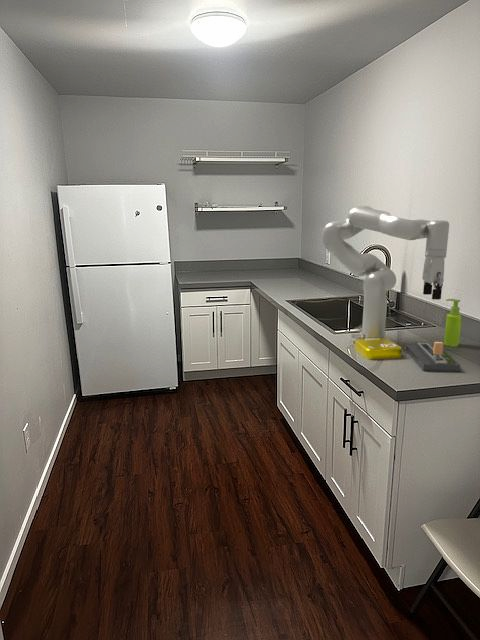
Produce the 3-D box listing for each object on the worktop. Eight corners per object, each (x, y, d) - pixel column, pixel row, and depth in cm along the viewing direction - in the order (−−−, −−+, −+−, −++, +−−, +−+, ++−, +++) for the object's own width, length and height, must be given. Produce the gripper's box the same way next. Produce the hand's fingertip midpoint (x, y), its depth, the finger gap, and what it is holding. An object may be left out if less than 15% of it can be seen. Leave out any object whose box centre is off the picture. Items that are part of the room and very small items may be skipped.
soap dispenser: (443, 341, 201) (448, 297, 196) (459, 344, 197) (465, 299, 192) (439, 344, 197) (444, 299, 192) (456, 347, 193) (461, 301, 188)
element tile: (386, 347, 195) (386, 336, 194) (402, 358, 181) (404, 347, 180) (352, 348, 193) (353, 338, 192) (367, 360, 179) (368, 349, 178)
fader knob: (434, 360, 169) (436, 343, 168) (431, 357, 173) (433, 340, 171) (442, 360, 169) (444, 343, 167) (439, 357, 172) (440, 341, 171)
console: (423, 370, 167) (424, 361, 166) (404, 350, 190) (405, 342, 189) (459, 371, 166) (460, 362, 165) (436, 350, 189) (437, 342, 188)
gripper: (418, 251, 183) (414, 292, 187) (434, 255, 166) (429, 301, 171) (437, 250, 183) (433, 292, 187) (455, 255, 166) (450, 301, 170)
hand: (431, 296), depth 179 cm, fingers open, 9 cm apart
